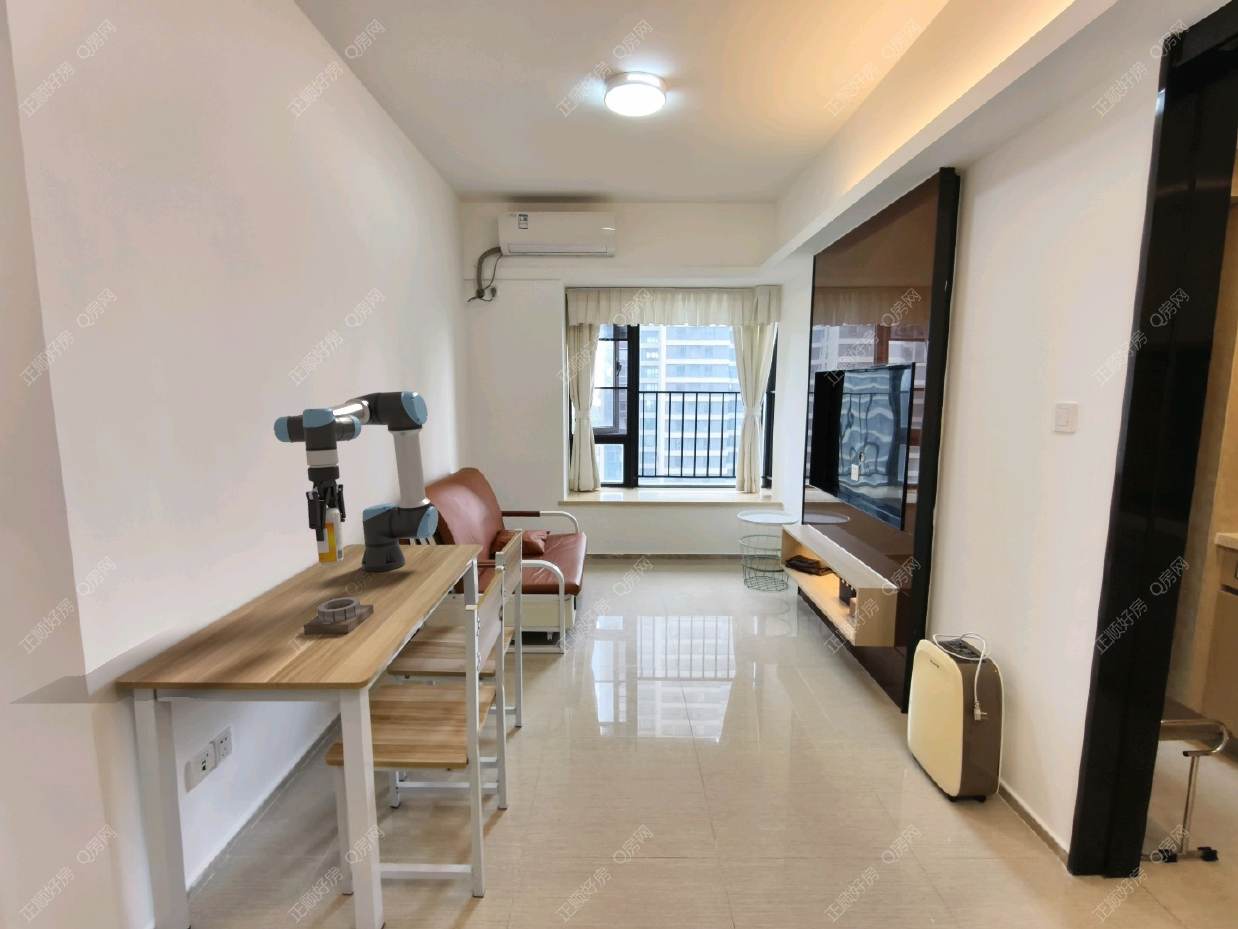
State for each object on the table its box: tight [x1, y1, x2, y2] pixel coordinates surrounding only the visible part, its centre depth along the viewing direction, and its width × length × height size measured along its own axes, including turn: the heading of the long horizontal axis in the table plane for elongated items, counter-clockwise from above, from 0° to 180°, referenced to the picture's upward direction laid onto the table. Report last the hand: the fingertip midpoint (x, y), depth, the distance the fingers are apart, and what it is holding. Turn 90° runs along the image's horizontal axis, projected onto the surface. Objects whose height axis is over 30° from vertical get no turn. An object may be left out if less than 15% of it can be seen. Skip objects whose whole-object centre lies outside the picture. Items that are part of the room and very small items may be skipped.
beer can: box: [317, 507, 345, 566], centre depth 151 cm, size 6×6×15 cm
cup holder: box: [303, 596, 374, 635], centre depth 153 cm, size 14×12×6 cm
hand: (330, 548), depth 151 cm, fingers closed on beer can, 6 cm apart
